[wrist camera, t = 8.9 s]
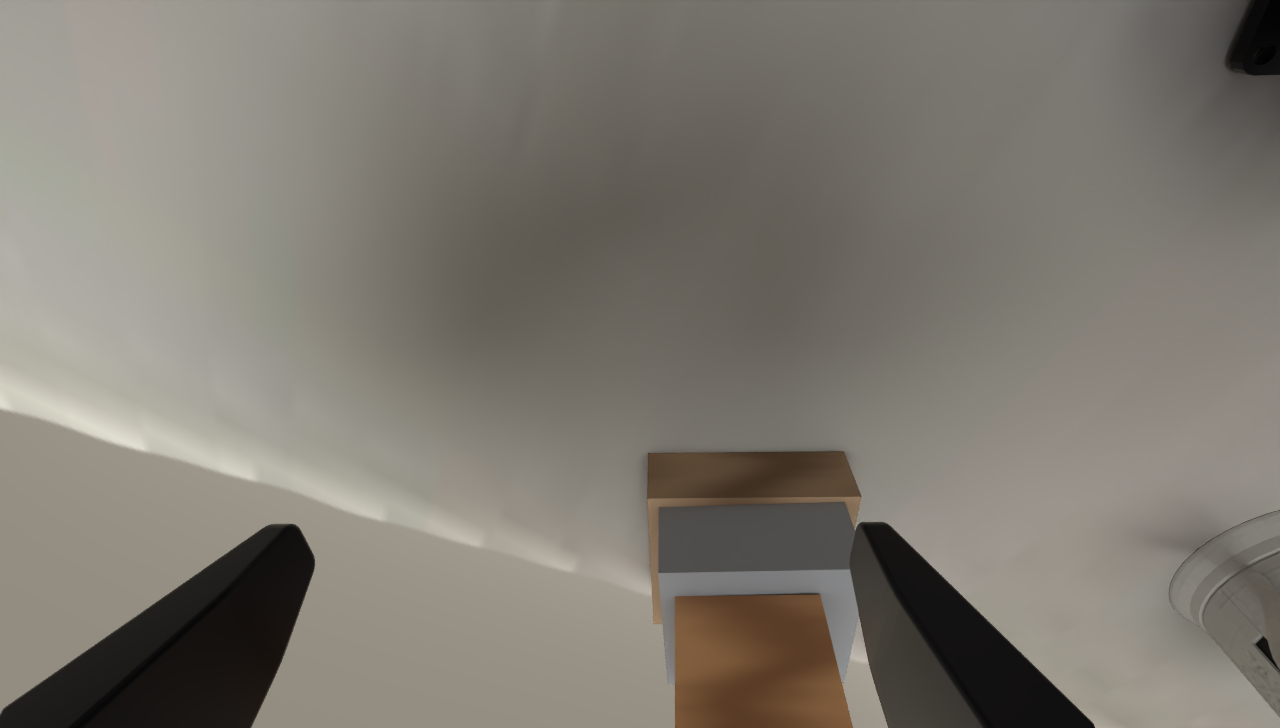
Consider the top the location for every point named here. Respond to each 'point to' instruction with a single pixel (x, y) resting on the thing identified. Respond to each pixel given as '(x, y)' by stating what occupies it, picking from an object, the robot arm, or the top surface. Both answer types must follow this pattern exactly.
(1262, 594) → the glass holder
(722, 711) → the orange cube
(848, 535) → the tower top
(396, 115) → the top surface
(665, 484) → the tower base
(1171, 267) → the top surface
